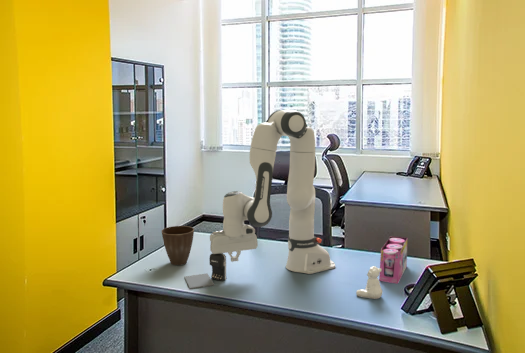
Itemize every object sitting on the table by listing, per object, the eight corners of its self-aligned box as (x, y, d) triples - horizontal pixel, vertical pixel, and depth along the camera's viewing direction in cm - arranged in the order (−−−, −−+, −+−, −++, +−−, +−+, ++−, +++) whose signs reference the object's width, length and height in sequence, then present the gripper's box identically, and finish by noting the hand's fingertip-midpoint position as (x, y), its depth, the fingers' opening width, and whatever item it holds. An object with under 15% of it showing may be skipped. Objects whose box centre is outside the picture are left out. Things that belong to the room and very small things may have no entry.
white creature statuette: (371, 289, 173) (371, 260, 171) (389, 296, 166) (390, 266, 164) (355, 295, 167) (355, 265, 165) (372, 303, 160) (373, 271, 158)
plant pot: (198, 257, 213) (197, 225, 210) (190, 268, 198) (189, 234, 195) (168, 257, 214) (167, 225, 212) (158, 267, 199) (157, 234, 197)
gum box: (397, 285, 176) (399, 253, 174) (378, 282, 180) (378, 250, 178) (406, 266, 197) (408, 237, 195) (389, 263, 201) (390, 235, 199)
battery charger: (208, 279, 185) (207, 253, 184) (214, 276, 188) (213, 250, 187) (221, 282, 181) (220, 256, 180) (227, 279, 184) (226, 253, 183)
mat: (207, 274, 190) (207, 273, 190) (214, 285, 178) (214, 284, 178) (184, 277, 187) (184, 276, 187) (190, 289, 175) (190, 287, 175)
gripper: (211, 234, 178) (212, 266, 180) (258, 229, 185) (259, 260, 187) (208, 230, 184) (209, 261, 186) (253, 225, 190) (254, 255, 193)
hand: (234, 261), depth 186 cm, fingers closed
